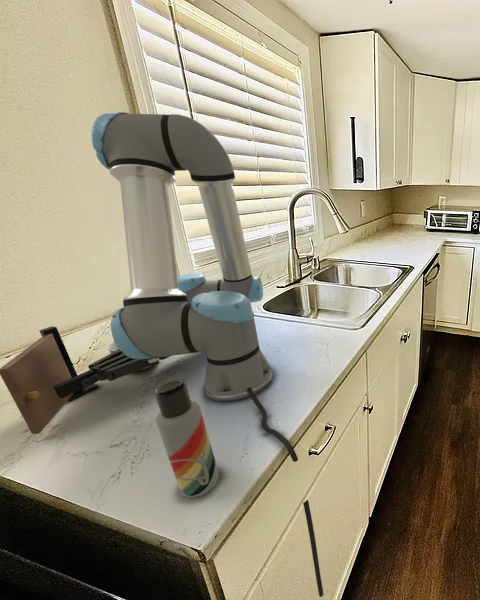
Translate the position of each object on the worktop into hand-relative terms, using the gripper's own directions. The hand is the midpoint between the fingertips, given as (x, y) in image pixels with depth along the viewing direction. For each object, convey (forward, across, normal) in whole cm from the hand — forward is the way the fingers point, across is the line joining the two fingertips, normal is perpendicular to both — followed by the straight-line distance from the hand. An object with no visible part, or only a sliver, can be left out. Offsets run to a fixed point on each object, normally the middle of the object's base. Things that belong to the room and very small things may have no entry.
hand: (57, 392), depth 67 cm
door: (0, +4, -6) cm, 7 cm away
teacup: (-21, +8, -3) cm, 23 cm away
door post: (-6, +10, -7) cm, 14 cm away
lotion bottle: (+1, -40, -7) cm, 41 cm away
